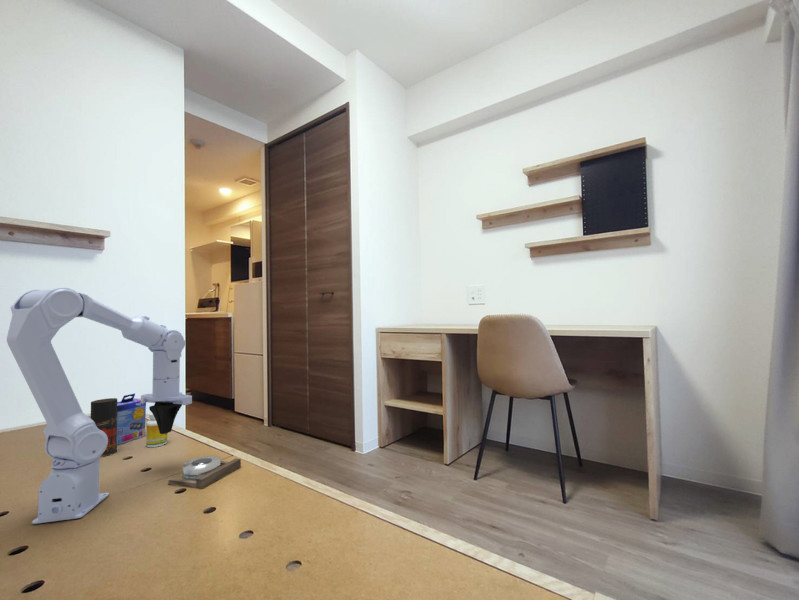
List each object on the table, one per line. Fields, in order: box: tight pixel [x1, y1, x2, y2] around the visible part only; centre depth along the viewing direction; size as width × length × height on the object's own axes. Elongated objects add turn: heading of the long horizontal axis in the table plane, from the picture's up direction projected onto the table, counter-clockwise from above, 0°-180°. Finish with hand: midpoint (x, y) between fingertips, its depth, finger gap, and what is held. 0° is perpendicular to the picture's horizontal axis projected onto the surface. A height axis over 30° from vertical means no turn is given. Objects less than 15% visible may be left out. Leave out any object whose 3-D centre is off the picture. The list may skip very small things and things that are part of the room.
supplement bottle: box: [145, 412, 168, 448], centre depth 109 cm, size 5×5×10 cm
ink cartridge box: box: [117, 393, 147, 446], centre depth 115 cm, size 10×6×14 cm, turn 163°
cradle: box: [167, 457, 242, 490], centre depth 86 cm, size 10×12×2 cm
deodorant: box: [90, 397, 118, 458], centre depth 103 cm, size 6×6×15 cm
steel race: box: [181, 455, 221, 481], centre depth 87 cm, size 8×8×3 cm
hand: (165, 432), depth 90 cm, fingers closed
